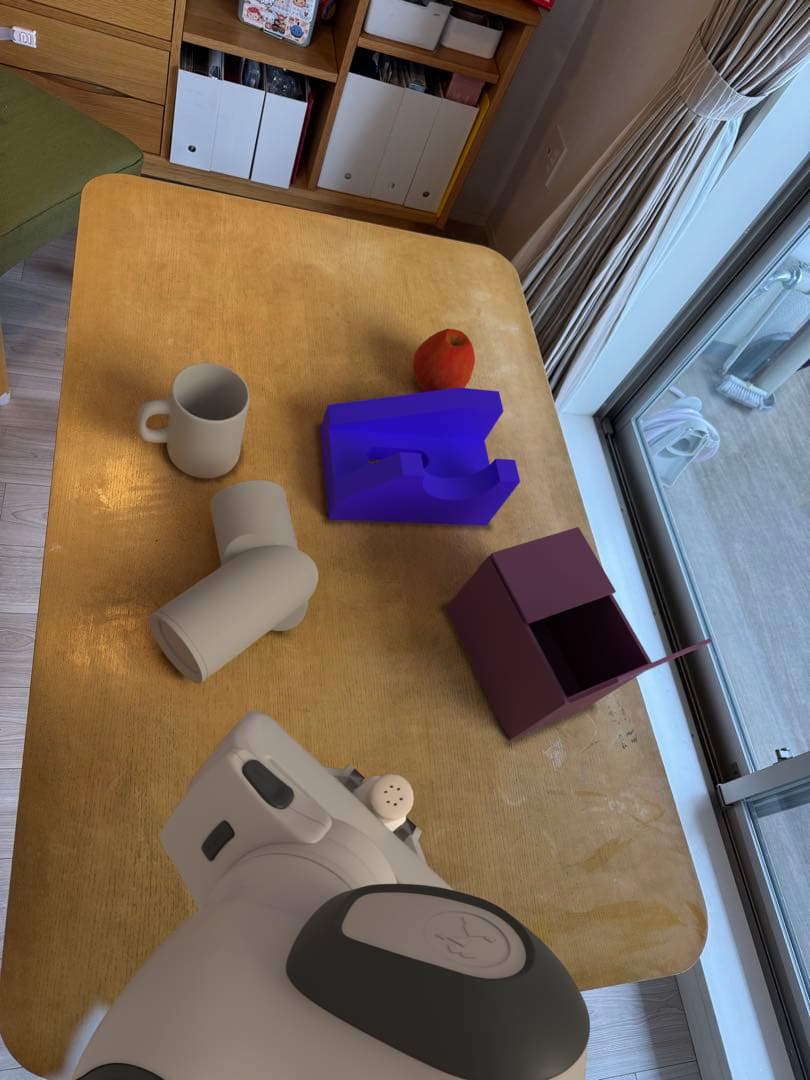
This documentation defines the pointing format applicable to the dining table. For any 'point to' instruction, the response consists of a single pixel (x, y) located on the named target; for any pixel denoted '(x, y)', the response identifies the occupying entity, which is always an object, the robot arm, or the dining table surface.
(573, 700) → the flap
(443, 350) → the apple
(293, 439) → the dining table surface
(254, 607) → the elbow connector
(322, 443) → the bracket
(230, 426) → the mug
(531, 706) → the carton
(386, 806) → the pepper shaker
